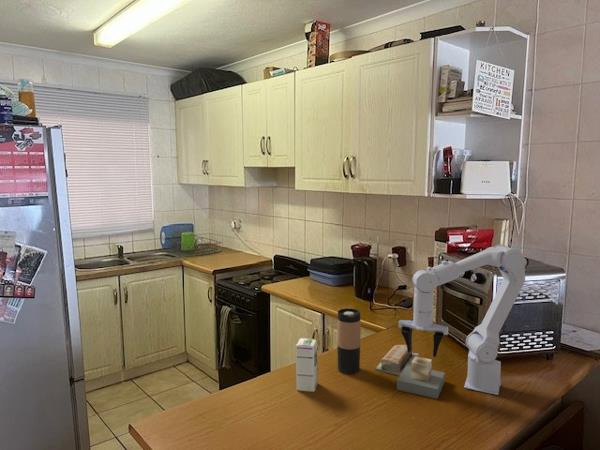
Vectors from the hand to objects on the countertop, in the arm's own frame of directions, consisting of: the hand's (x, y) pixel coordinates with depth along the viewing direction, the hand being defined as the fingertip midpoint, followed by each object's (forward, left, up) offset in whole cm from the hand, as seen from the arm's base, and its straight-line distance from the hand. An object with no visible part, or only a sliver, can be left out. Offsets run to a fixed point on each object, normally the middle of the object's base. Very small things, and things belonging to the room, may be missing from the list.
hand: (422, 353), depth 132 cm
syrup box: (+31, +17, -11) cm, 37 cm away
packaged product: (+11, -12, -11) cm, 20 cm away
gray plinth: (0, 0, -10) cm, 10 cm away
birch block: (0, 0, -7) cm, 7 cm away
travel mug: (+24, 0, -11) cm, 26 cm away
